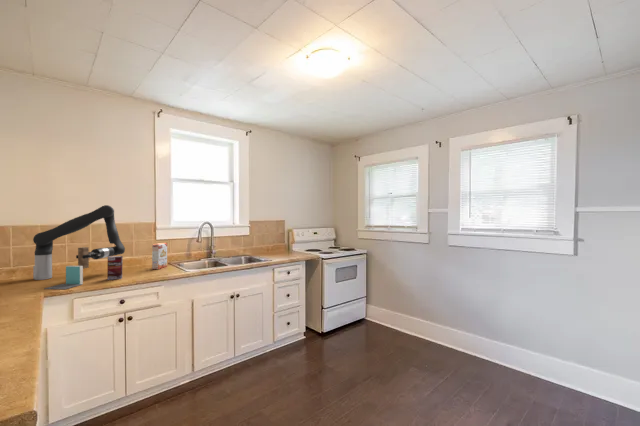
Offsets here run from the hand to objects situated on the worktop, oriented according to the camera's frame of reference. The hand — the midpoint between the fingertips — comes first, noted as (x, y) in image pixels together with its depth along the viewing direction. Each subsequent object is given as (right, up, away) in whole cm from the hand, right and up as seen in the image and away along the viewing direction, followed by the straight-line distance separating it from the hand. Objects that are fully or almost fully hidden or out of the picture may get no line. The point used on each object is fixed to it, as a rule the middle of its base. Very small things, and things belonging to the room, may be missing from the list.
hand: (79, 256), depth 203 cm
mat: (-1, -17, -12) cm, 21 cm away
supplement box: (+16, -17, +11) cm, 26 cm away
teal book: (0, -17, -4) cm, 18 cm away
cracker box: (+25, -17, +54) cm, 62 cm away
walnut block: (0, -8, +3) cm, 8 cm away
